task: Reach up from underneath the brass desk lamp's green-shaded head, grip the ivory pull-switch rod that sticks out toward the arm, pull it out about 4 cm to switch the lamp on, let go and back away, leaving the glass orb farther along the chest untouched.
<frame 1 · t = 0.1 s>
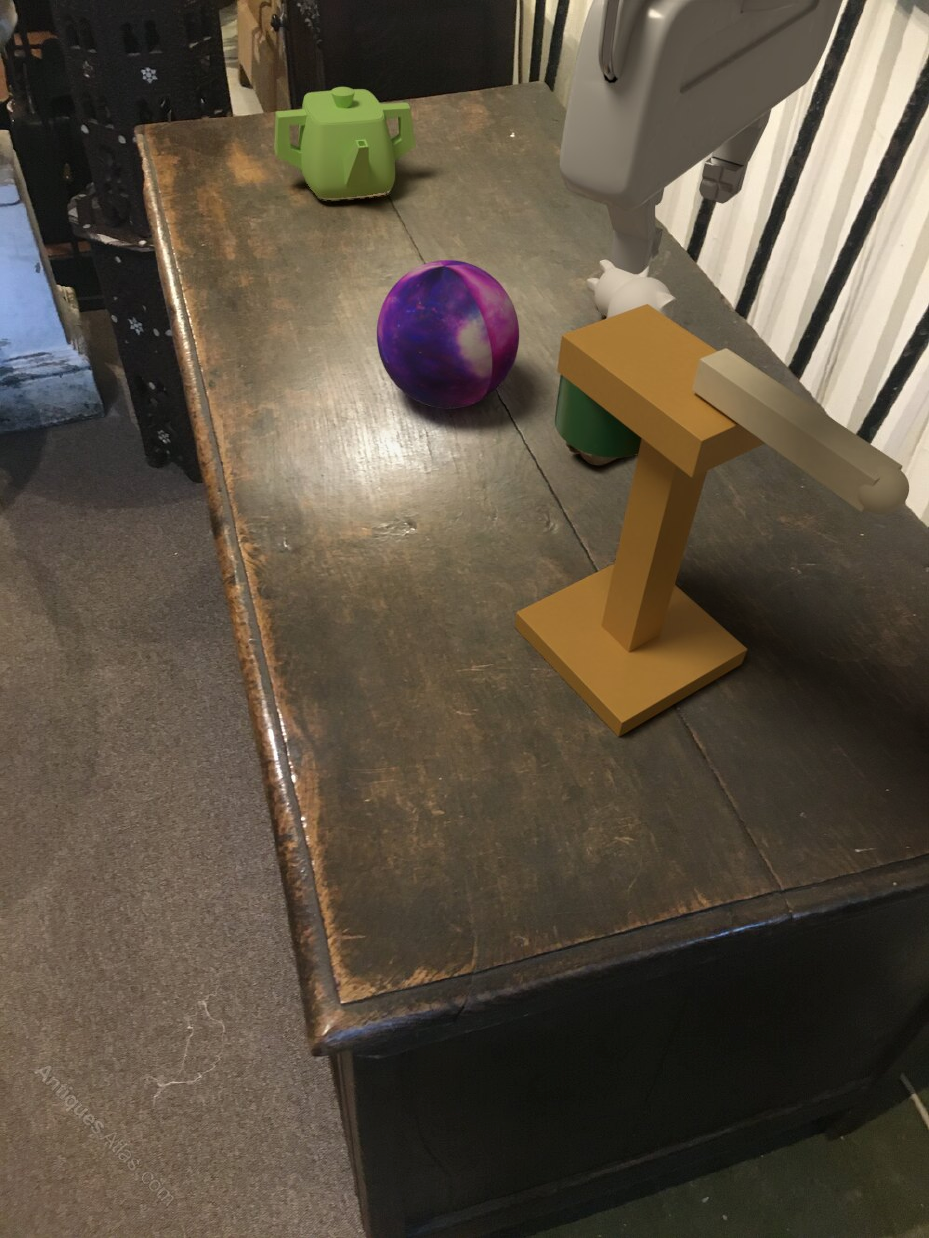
hand: (677, 229, 49), 41 cm above the table, tool pointing down, fingers open, 8 cm apart
teapot: (350, 193, 141), on the table
switch rod: (798, 431, 58), point 29 cm above the table, slide at 0.0 cm
desk lamp: (626, 645, 84), on the table
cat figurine: (633, 332, 118), on the table
decorative orb: (446, 397, 108), on the table
sculpture: (625, 444, 104), on the table
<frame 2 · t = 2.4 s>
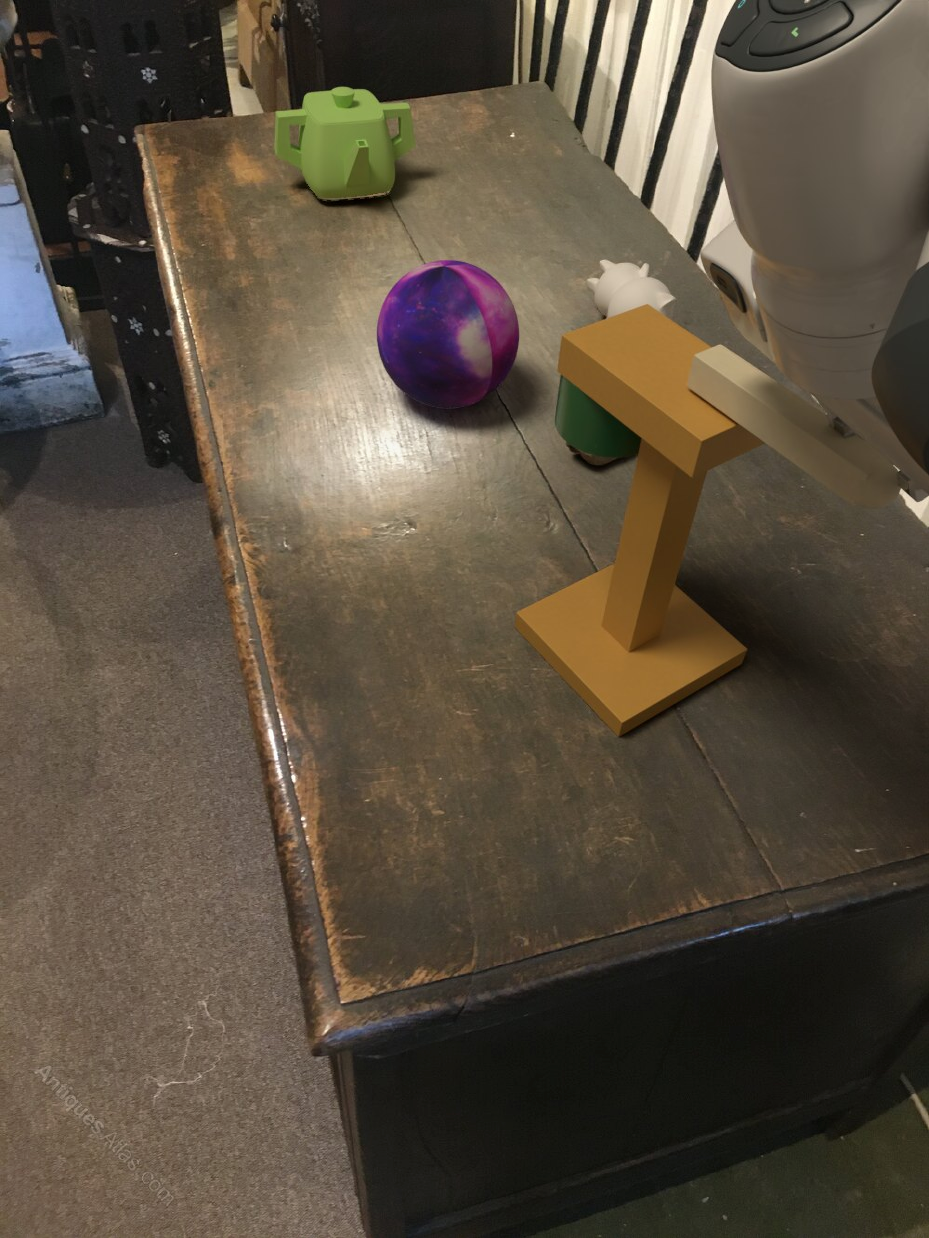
hand: (884, 456, 55), 30 cm above the table, tool tilted 30°, fingers closed on switch rod, 4 cm apart
switch rod: (792, 426, 59), point 29 cm above the table, slide at -0.5 cm, touching gripper
everything else where it was.
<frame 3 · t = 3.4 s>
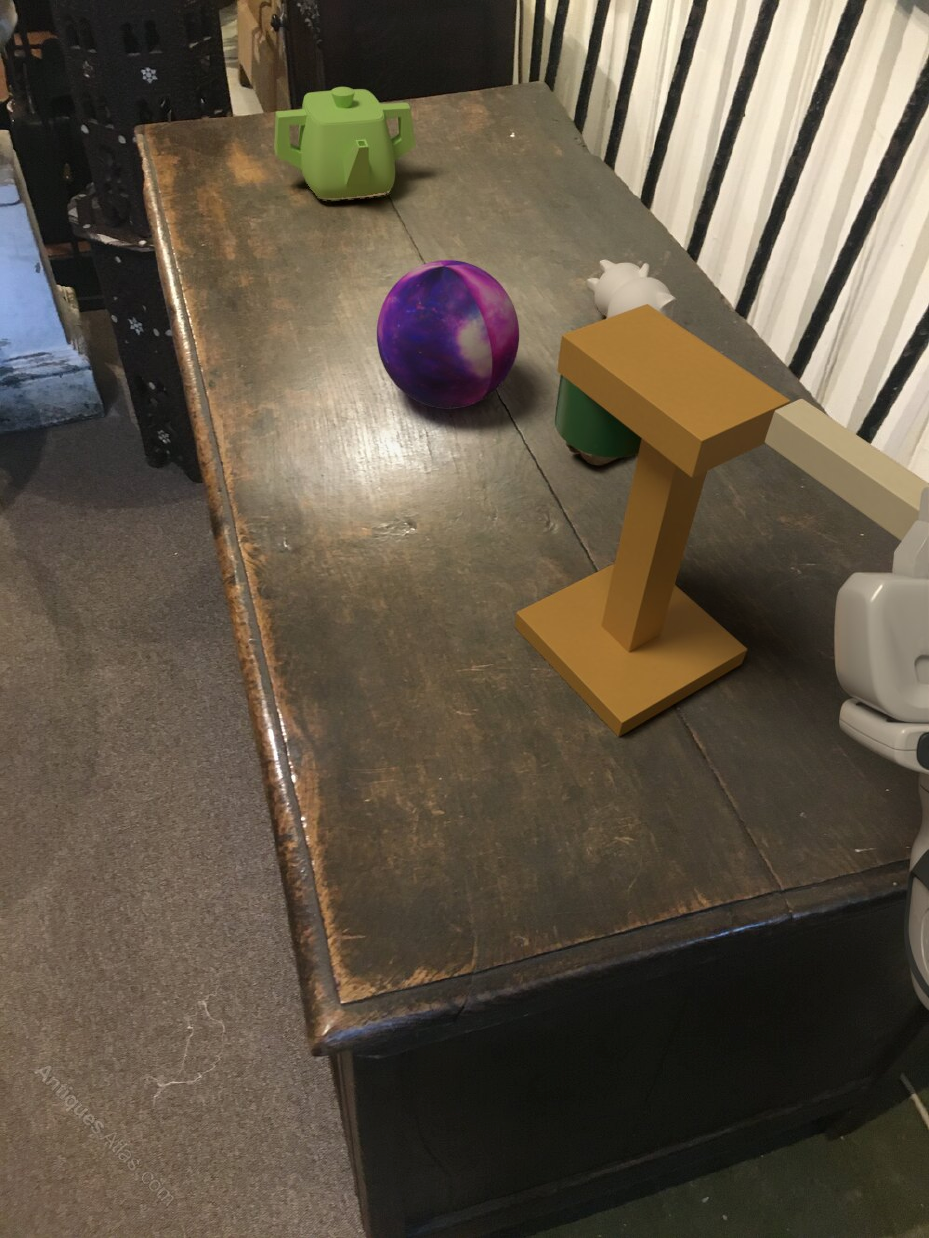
switch rod: (883, 490, 55), point 29 cm above the table, slide at 6.4 cm, touching gripper
everything else where it was.
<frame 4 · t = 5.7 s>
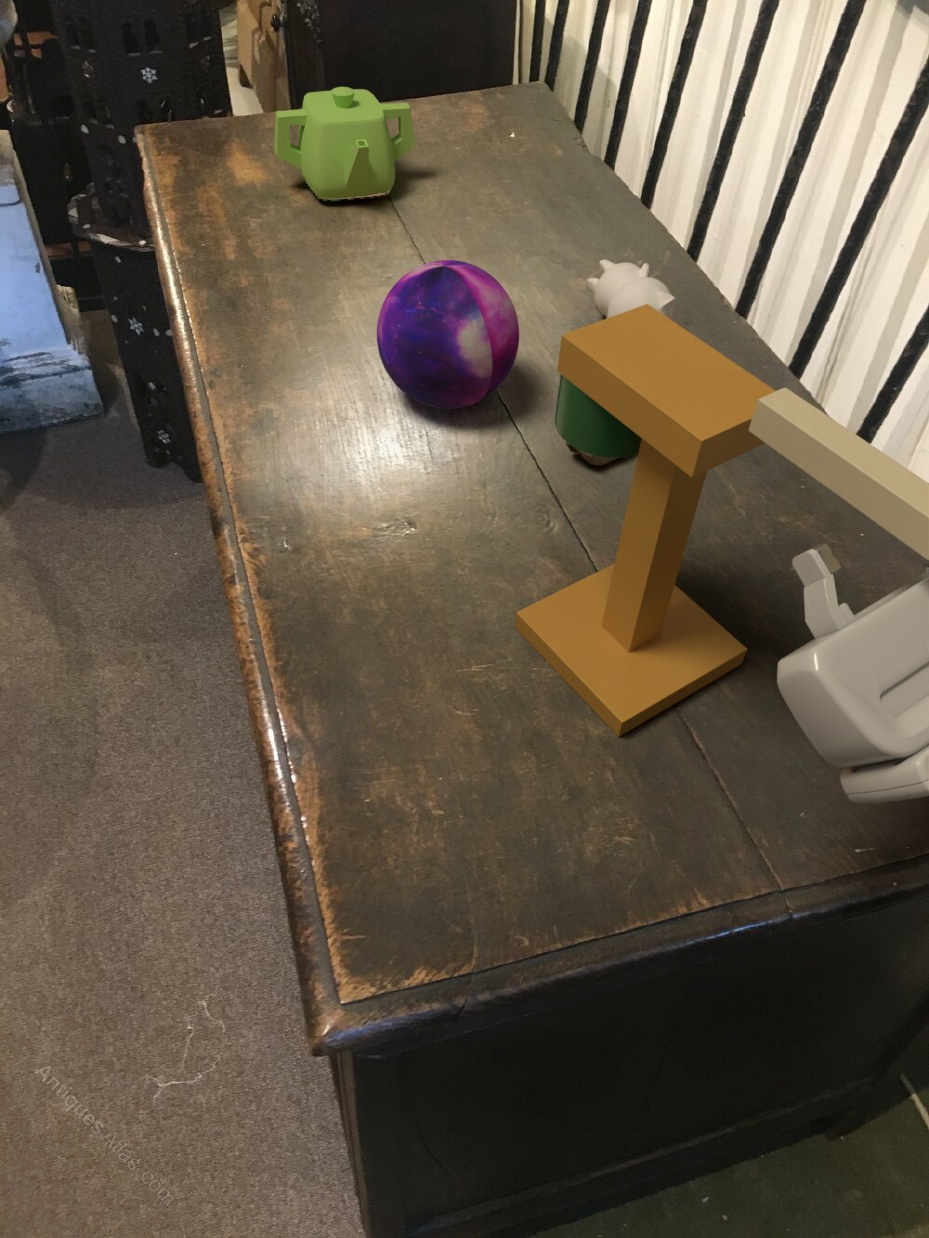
hand: (861, 520, 57), 26 cm above the table, tool pointing upward, fingers open, 8 cm apart
switch rod: (864, 477, 56), point 29 cm above the table, slide at 5.0 cm
everything else where it was.
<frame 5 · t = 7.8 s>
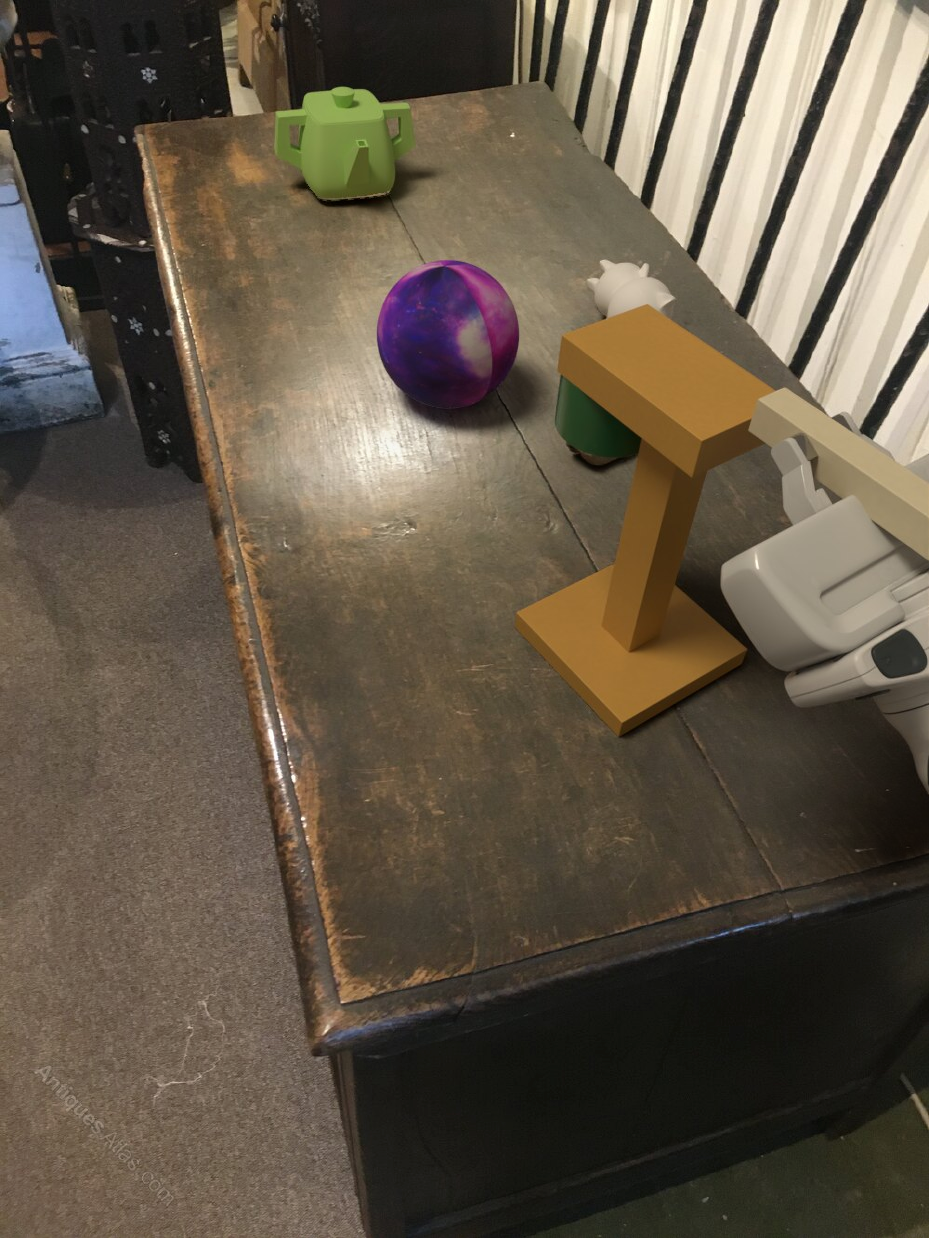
hand: (807, 429, 58), 29 cm above the table, tool pointing upward, fingers closed on switch rod, 2 cm apart
switch rod: (864, 477, 56), point 28 cm above the table, slide at 5.0 cm, touching gripper
everything else where it was.
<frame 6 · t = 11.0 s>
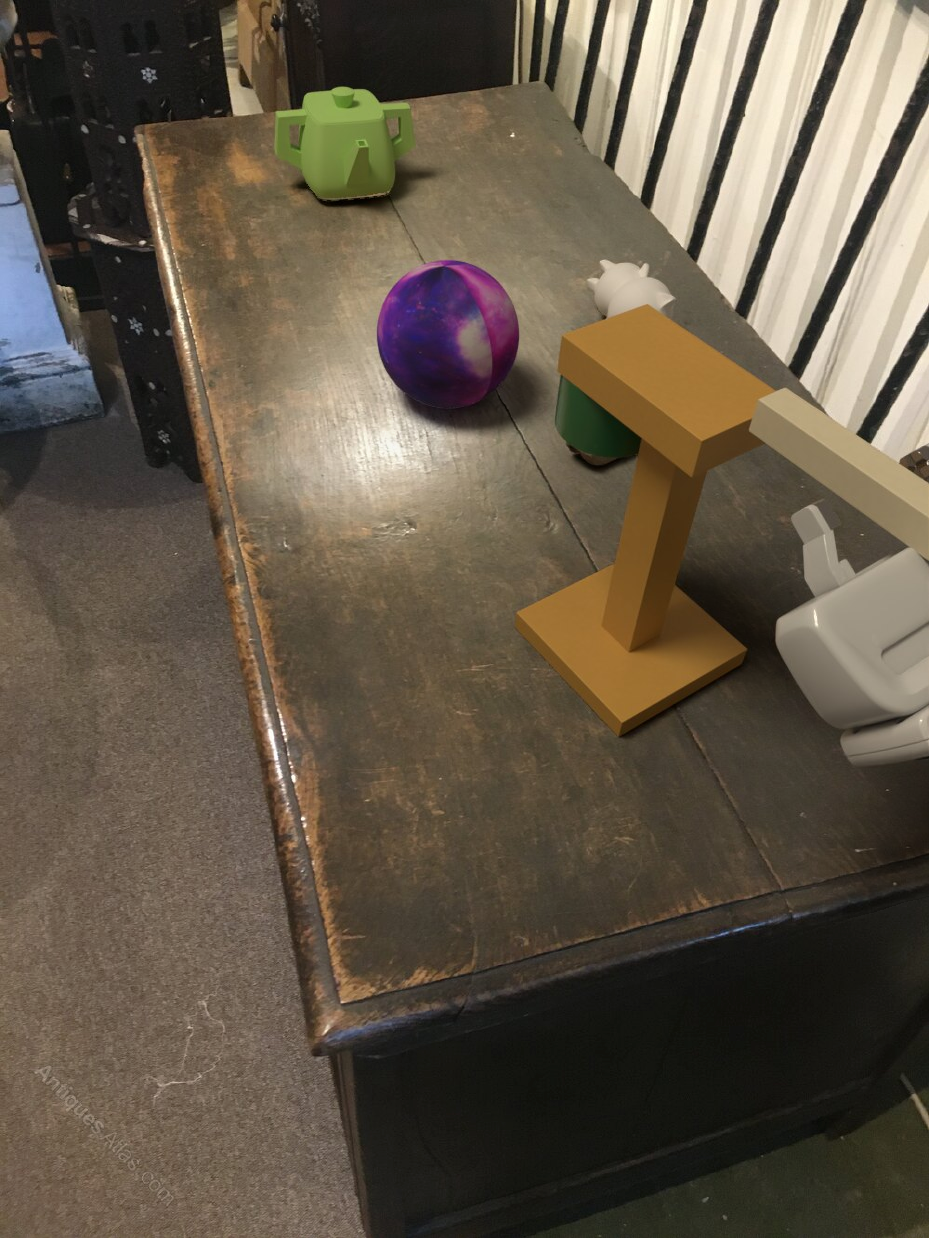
hand: (862, 477, 56), 28 cm above the table, tool pointing upward, fingers open, 8 cm apart
switch rod: (864, 477, 56), point 29 cm above the table, slide at 5.1 cm
everything else where it was.
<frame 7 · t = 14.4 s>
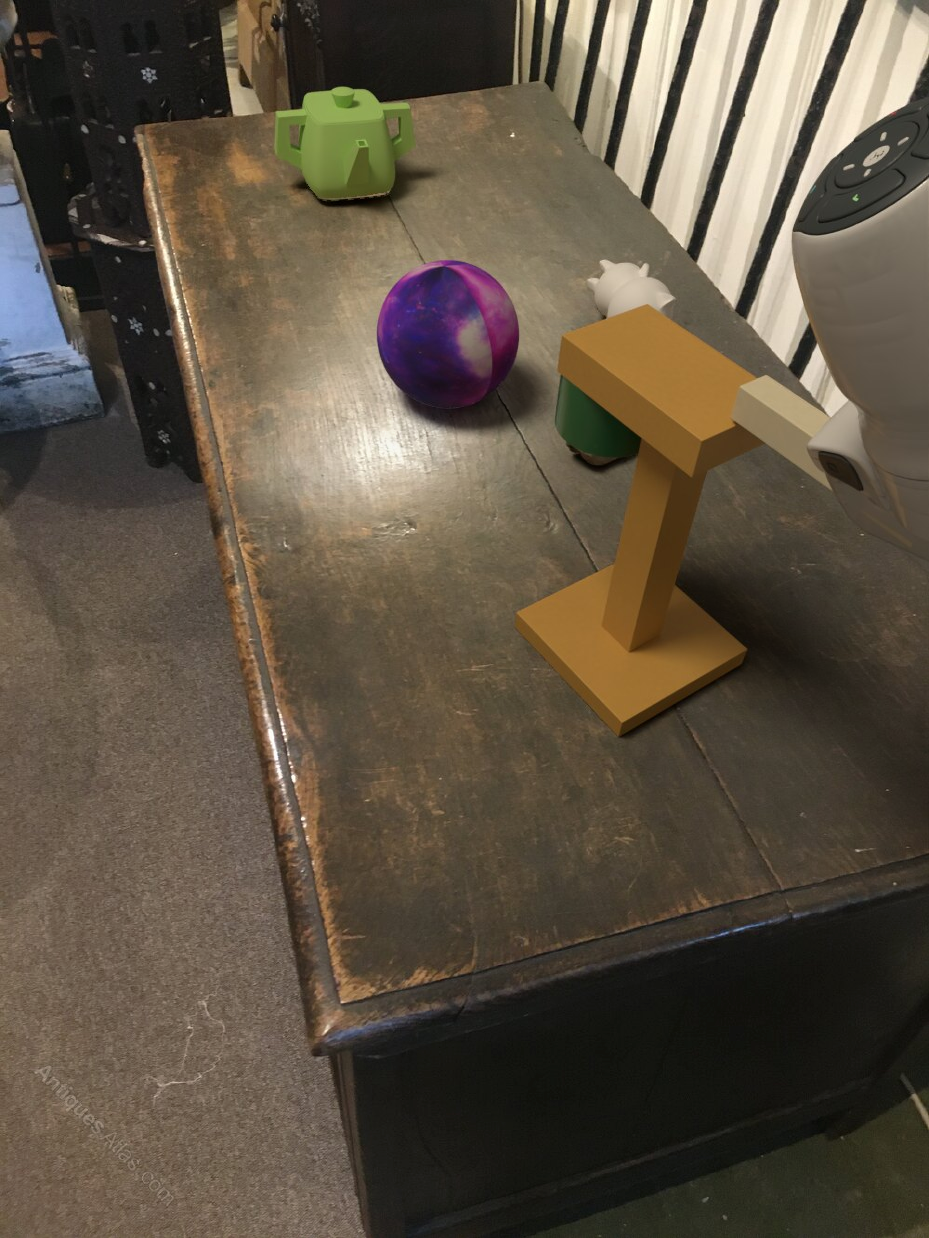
switch rod: (843, 462, 57), point 28 cm above the table, slide at 3.5 cm, touching gripper
everything else where it was.
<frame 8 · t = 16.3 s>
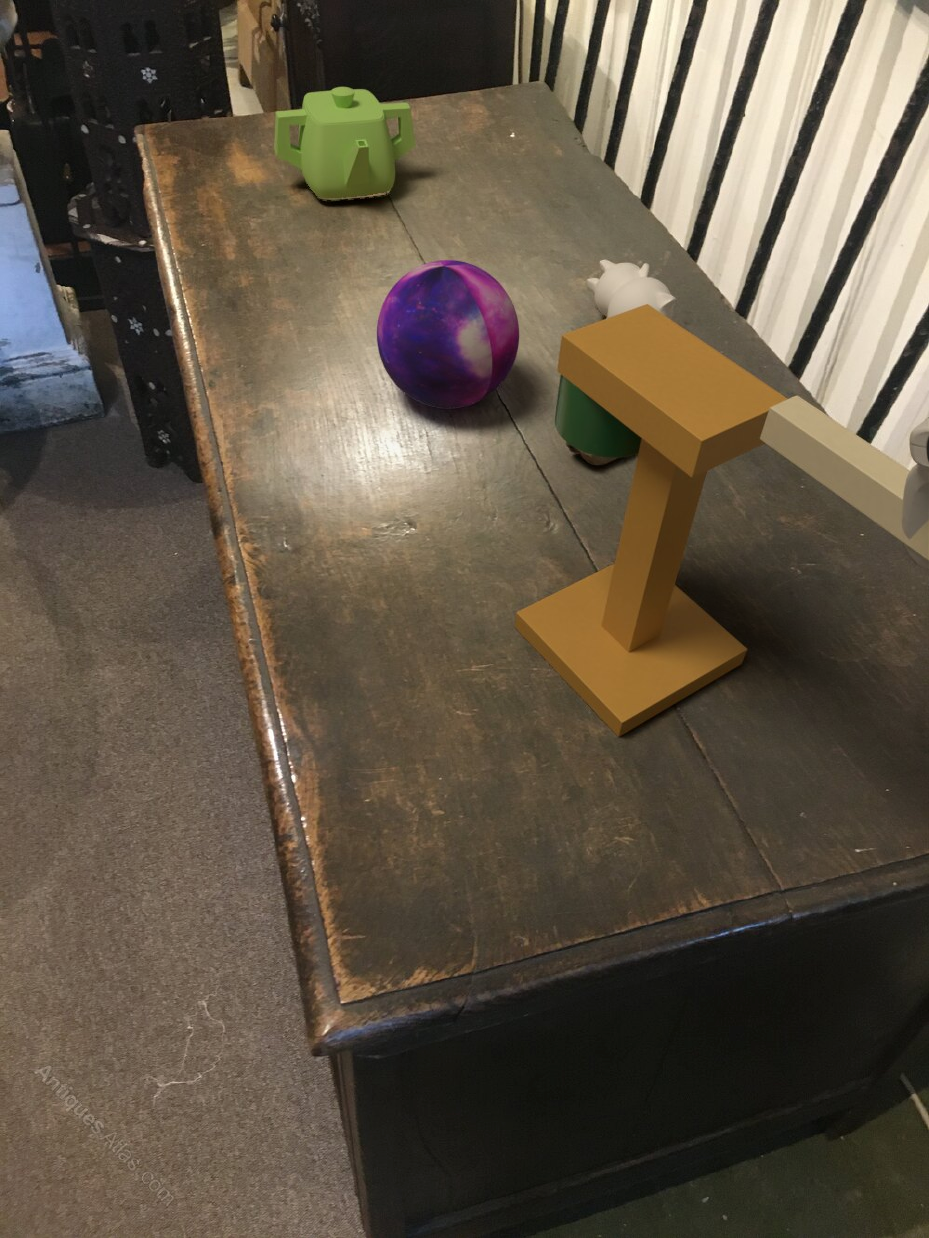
switch rod: (878, 486, 55), point 28 cm above the table, slide at 6.0 cm, touching gripper
everything else where it was.
at the end: switch rod slide at 6.0 cm; the gripper is holding nothing; decorative orb moved 0.2 cm from its start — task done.
